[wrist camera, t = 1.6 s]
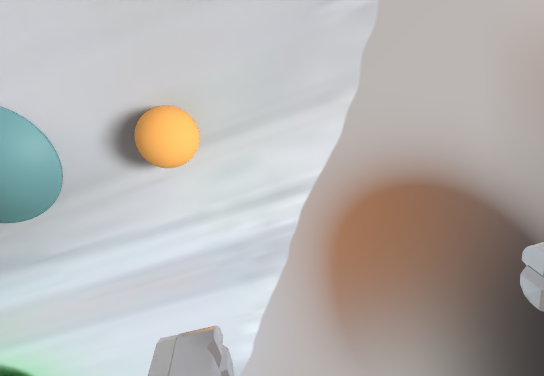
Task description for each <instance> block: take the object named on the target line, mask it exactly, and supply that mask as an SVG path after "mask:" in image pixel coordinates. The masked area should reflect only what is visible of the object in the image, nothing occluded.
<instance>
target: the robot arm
mask: <svg viewBox="0 0 544 376" xmlns="http://www.w3.org/2000/svg"><path fill="white" fill-rule="evenodd" d="M522 260H523V262H524V263H525V264H526V265H527V266H526V268H525V269H524V270H523V271H522V273H521V278H520V285H521V287H522V290H523V292H524V295H525V296H526V297H527V298H528V300H529V301H530V302H531V303H532V304H533V305H534V306H535V307H536V308H537V309H539V310H541V311H544V242H543V243H540V244H536V245H532V246H528V247H526V248H525V250H524V251H523V255H522ZM222 343H223V335H222V333H221V330H220V328H219V326H212V327H208V328H203V329H199V330H194V331H190V332H186V333H181V334H179V335H175V336H170V337H165V338H161V339H160V340H159V341H158V343H157V344H156V348H155V351H154V355H153V359H152V362H151V366H150V370H149V373H148V376H234V371H233V363H232V359H231V355H230V353H229V350H228V348H227V347H225V346H224V345H222Z"/></svg>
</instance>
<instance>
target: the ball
mask: <svg viewBox="0 0 544 376" xmlns="http://www.w3.org/2000/svg"><path fill="white" fill-rule="evenodd" d="M135 143H136V146H137V149H138V151H139V152H140V154H141V155H142V156H143V157H144V158H145V159H146V160H147V161H148V162H150V163H151V164H153V165H155V166H158V167H162V168H175V167H178V166H181V165H183V164H185V163H187V162H188V161H189V160H190V159H191V158H192V157H193V156H194V155H195V153H196V151H197V148H198V145H199V131H198V128H197V125H196V123H195V122H194V120H193V119H192V118H191V116H190V115H189V114H187V113H186V112H185V111H183V110H181V109H179V108H177V107H173V106H157V107H154V108H152V109H150V110H148V111H147V112H145V113H144V114H143V115H142V116H141V118H140V119H139V121H138V122H137V125H136V128H135Z"/></svg>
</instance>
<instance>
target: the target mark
mask: <svg viewBox="0 0 544 376" xmlns="http://www.w3.org/2000/svg"><path fill="white" fill-rule="evenodd" d="M61 186H62V168H61V164H60V160H59V158H58V155H57V153H56V151H55V149H54V147H53V146H52V144H51V143H50V142H49V140H48V139H47V138H46V136H45V135H44V134H43V133H42V132H41V131H40V130H39V129H38V128H37V127H35V126H34V125H33V124H32V123H31V122H29V121H28V120H26V119H25V118H23V117H22V116H20V115H18V114H17V113H15V112H12V111H10V110H8V109H6V108H3V107H0V223H15V222H21V221H25V220H29V219H32V218H34V217H36V216H38V215H40V214H42V213H43V212H45V211H46V210H47V209H48V208H49V207H50V206H51V205H52V204H53V203H54V202H55V200H56V199H57V197H58V195H59V192H60V190H61Z"/></svg>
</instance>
